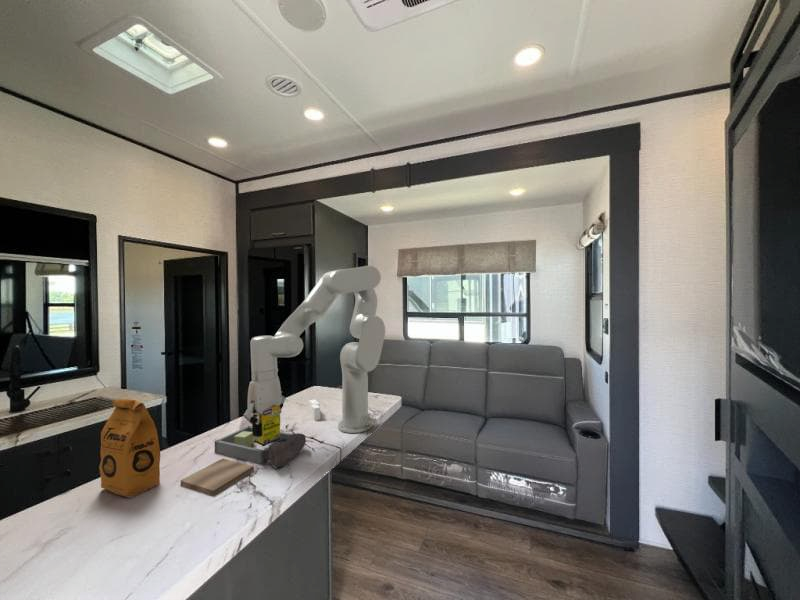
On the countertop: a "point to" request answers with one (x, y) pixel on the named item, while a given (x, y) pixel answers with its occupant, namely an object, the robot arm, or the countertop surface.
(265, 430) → the supplement box
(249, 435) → the olive block
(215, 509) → the countertop surface
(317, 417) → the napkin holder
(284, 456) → the perforated stone tool
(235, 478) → the pad
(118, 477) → the coffee package
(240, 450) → the bin
